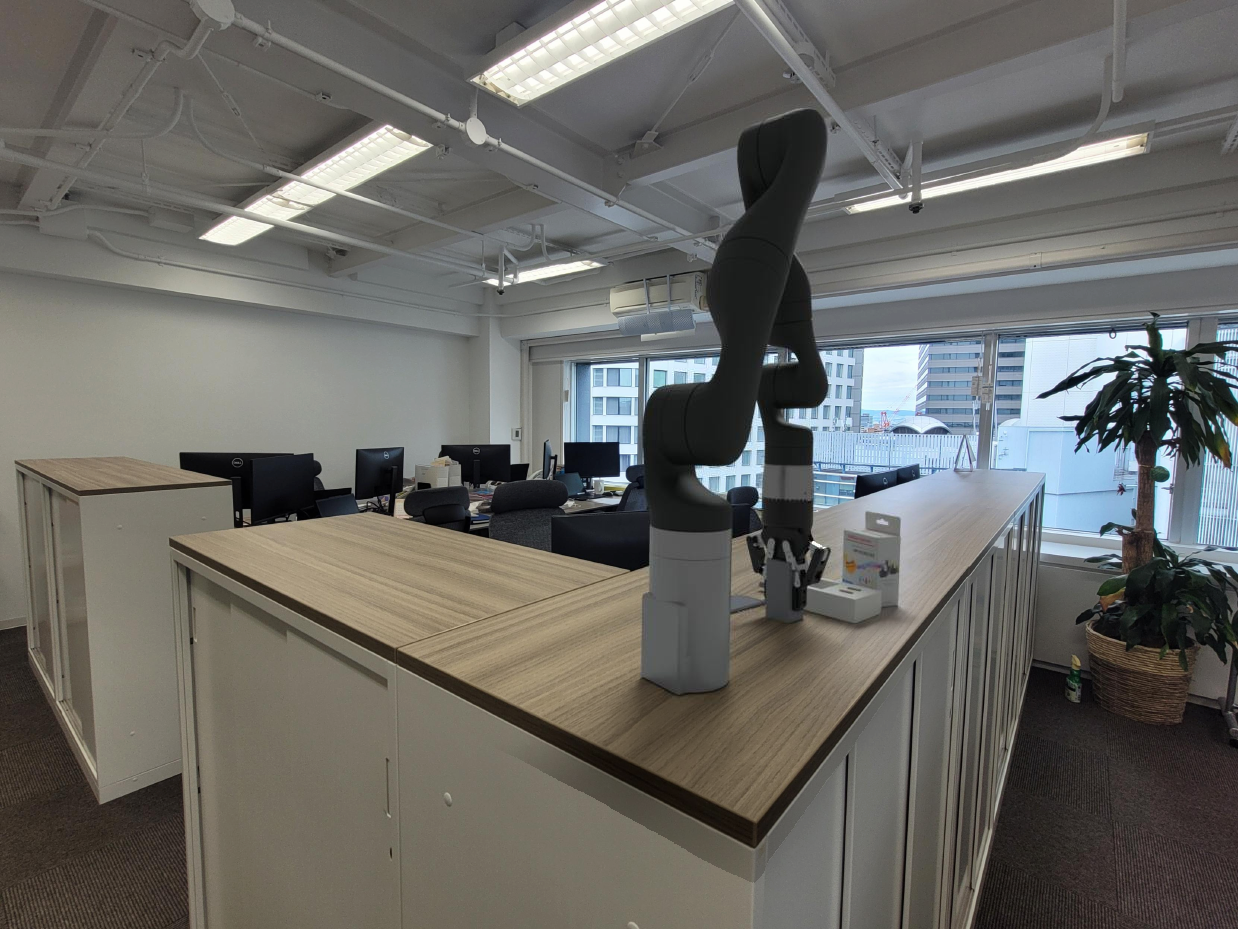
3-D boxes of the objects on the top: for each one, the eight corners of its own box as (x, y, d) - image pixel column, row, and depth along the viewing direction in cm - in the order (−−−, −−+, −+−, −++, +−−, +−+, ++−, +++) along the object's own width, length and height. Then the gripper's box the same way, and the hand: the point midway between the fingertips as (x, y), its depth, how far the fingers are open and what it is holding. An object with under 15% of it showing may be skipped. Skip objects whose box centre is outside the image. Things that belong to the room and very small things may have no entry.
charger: (787, 623, 82) (789, 562, 82) (765, 616, 86) (766, 557, 85) (803, 618, 85) (804, 558, 85) (781, 611, 88) (782, 554, 88)
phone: (718, 621, 85) (718, 615, 85) (690, 611, 90) (690, 605, 90) (767, 607, 92) (767, 601, 92) (739, 599, 97) (739, 593, 97)
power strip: (854, 623, 83) (855, 594, 83) (746, 593, 98) (746, 568, 98) (880, 613, 88) (881, 585, 88) (773, 586, 103) (774, 562, 103)
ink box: (839, 594, 99) (842, 511, 98) (863, 592, 100) (865, 510, 100) (875, 608, 91) (878, 518, 90) (899, 606, 92) (903, 517, 91)
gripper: (734, 492, 88) (732, 600, 88) (815, 500, 77) (812, 624, 77) (763, 489, 92) (761, 592, 93) (844, 497, 81) (841, 613, 82)
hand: (784, 606), depth 85 cm, fingers closed on charger, 4 cm apart
